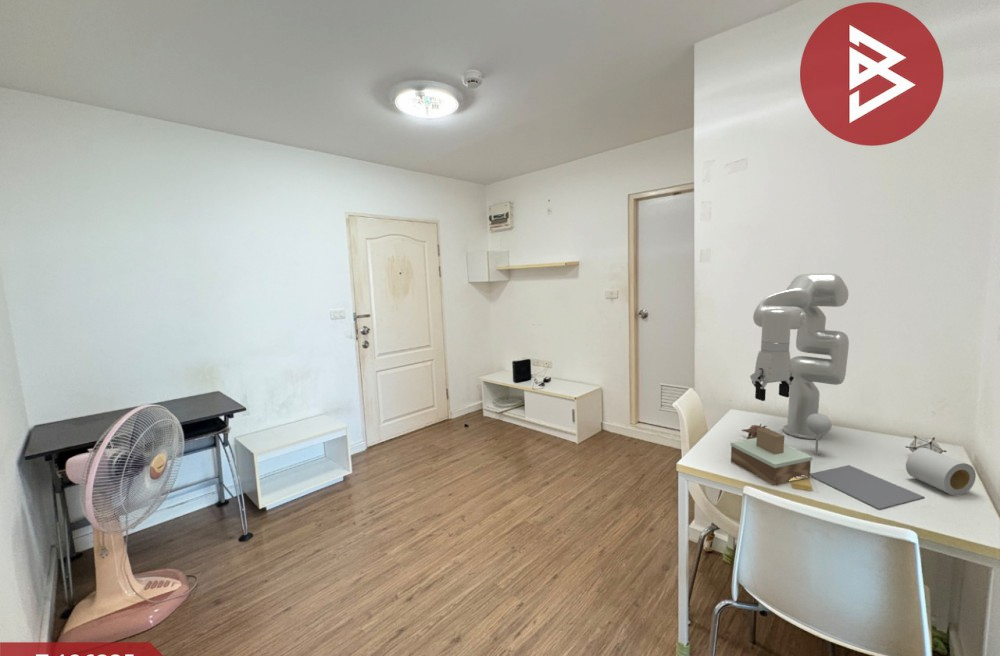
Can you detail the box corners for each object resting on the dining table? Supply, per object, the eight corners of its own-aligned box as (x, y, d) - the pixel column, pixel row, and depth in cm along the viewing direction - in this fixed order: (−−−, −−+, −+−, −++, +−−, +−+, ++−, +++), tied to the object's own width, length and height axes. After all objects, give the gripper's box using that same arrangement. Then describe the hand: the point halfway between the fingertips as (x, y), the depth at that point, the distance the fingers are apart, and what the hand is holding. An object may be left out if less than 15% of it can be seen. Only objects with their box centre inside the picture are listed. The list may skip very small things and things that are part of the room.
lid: (764, 441, 143) (765, 420, 142) (811, 463, 127) (813, 439, 126) (730, 448, 140) (731, 426, 139) (774, 471, 124) (776, 446, 122)
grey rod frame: (925, 468, 137) (943, 445, 136) (939, 471, 130) (958, 446, 129) (894, 451, 141) (912, 428, 141) (906, 452, 134) (925, 428, 133)
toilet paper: (973, 494, 116) (977, 462, 114) (942, 497, 115) (946, 464, 113) (933, 476, 126) (936, 446, 124) (904, 479, 125) (907, 449, 123)
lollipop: (824, 450, 145) (827, 411, 143) (832, 459, 139) (836, 418, 137) (800, 448, 148) (803, 409, 146) (808, 457, 141) (811, 416, 139)
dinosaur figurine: (773, 451, 147) (775, 427, 145) (756, 451, 147) (758, 427, 146) (754, 435, 160) (755, 414, 159) (739, 435, 161) (740, 414, 159)
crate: (763, 455, 144) (764, 439, 143) (809, 477, 128) (810, 460, 127) (730, 461, 140) (731, 445, 140) (773, 485, 124) (774, 467, 124)
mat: (848, 466, 134) (848, 465, 134) (924, 498, 115) (924, 496, 115) (807, 475, 129) (807, 474, 129) (879, 510, 110) (879, 508, 110)
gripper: (785, 342, 134) (782, 391, 136) (743, 347, 130) (741, 397, 132) (807, 346, 127) (803, 398, 129) (763, 351, 122) (760, 404, 125)
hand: (772, 397), depth 131 cm, fingers open, 9 cm apart
